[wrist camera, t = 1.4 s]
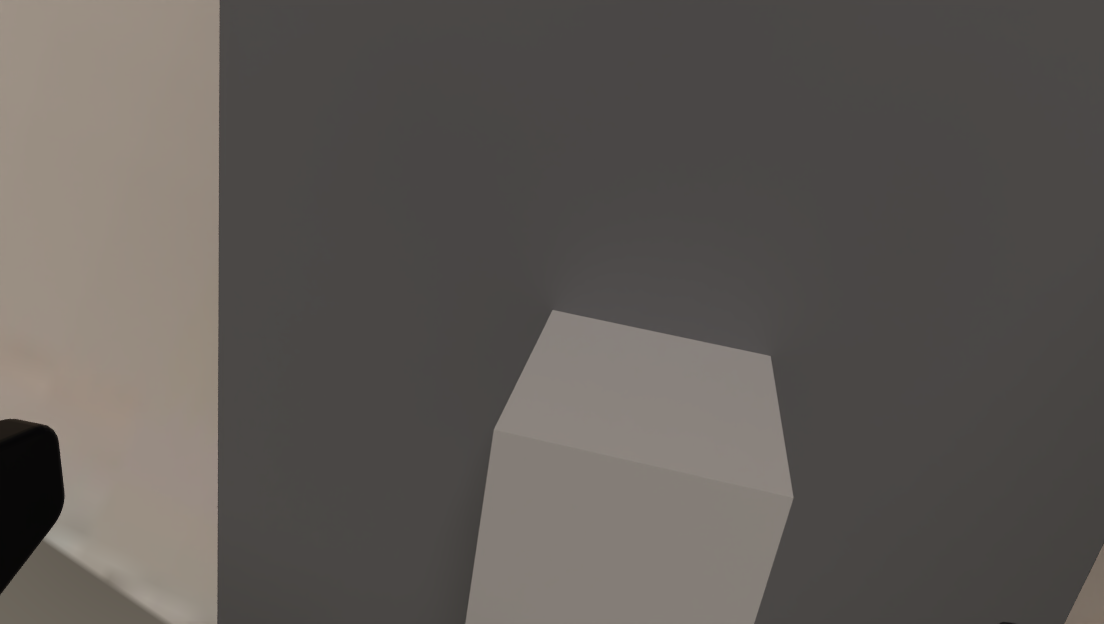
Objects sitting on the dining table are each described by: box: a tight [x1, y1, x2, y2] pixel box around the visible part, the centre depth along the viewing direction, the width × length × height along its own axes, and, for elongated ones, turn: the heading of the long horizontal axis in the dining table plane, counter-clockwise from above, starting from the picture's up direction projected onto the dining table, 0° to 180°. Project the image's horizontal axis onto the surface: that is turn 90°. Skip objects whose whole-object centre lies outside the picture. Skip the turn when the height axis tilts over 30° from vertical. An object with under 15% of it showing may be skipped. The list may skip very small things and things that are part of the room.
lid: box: [217, 0, 1104, 624], centre depth 13 cm, size 15×15×5 cm
